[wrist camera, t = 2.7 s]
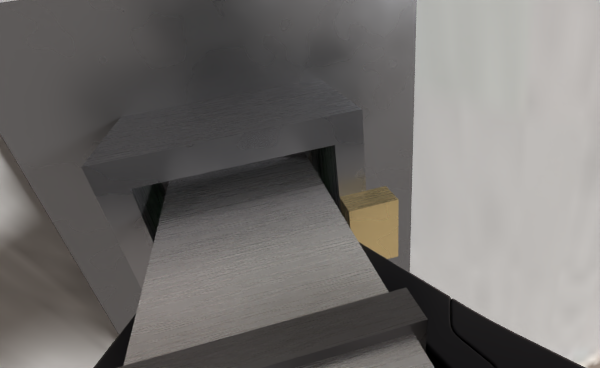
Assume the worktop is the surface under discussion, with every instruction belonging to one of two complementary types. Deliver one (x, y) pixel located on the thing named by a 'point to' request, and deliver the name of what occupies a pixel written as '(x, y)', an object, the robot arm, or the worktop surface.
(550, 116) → the worktop surface
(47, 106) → the stand base
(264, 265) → the gray rectangular plug
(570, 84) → the worktop surface
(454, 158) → the worktop surface
